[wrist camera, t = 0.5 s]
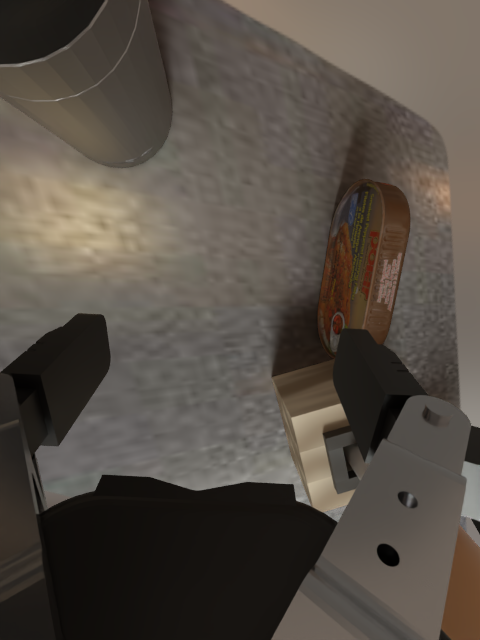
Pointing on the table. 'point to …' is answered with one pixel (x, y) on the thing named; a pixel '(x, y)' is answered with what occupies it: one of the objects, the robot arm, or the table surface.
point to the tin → (363, 262)
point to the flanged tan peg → (465, 579)
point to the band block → (317, 434)
